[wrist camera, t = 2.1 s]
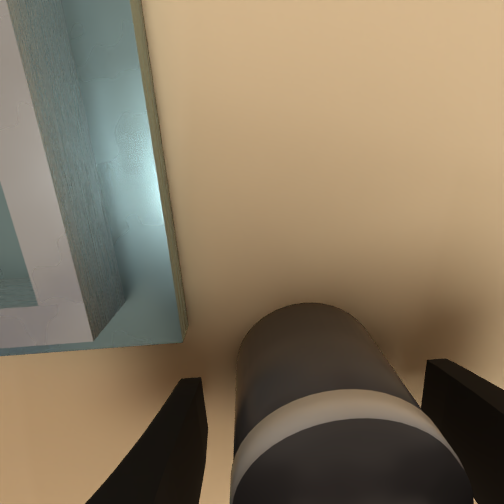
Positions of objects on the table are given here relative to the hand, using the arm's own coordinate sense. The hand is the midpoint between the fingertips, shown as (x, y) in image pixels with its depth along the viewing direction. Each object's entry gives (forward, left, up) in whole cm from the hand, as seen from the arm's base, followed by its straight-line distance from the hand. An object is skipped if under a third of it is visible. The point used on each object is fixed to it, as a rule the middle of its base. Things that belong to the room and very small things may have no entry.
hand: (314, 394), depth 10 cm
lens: (0, 0, -2) cm, 2 cm away
